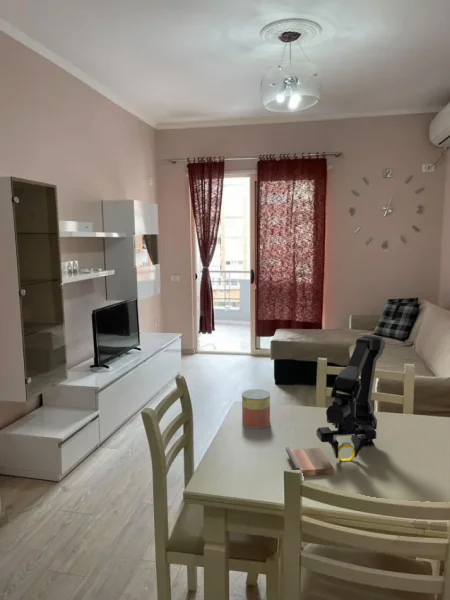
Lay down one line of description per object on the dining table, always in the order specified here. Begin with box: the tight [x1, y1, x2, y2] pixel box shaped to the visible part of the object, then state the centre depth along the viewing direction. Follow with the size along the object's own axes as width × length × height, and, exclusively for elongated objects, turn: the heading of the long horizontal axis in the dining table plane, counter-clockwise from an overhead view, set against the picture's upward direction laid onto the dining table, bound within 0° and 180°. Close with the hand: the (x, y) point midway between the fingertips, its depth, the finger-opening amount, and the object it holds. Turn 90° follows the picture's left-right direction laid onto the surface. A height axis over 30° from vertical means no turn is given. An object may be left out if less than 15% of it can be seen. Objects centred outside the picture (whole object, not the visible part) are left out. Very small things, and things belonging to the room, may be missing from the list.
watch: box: [337, 441, 355, 462], centre depth 153 cm, size 6×3×6 cm, turn 96°
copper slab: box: [285, 446, 335, 477], centre depth 151 cm, size 12×14×3 cm
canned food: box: [241, 388, 271, 429], centre depth 184 cm, size 11×11×12 cm
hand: (345, 457), depth 153 cm, fingers closed on watch, 6 cm apart
